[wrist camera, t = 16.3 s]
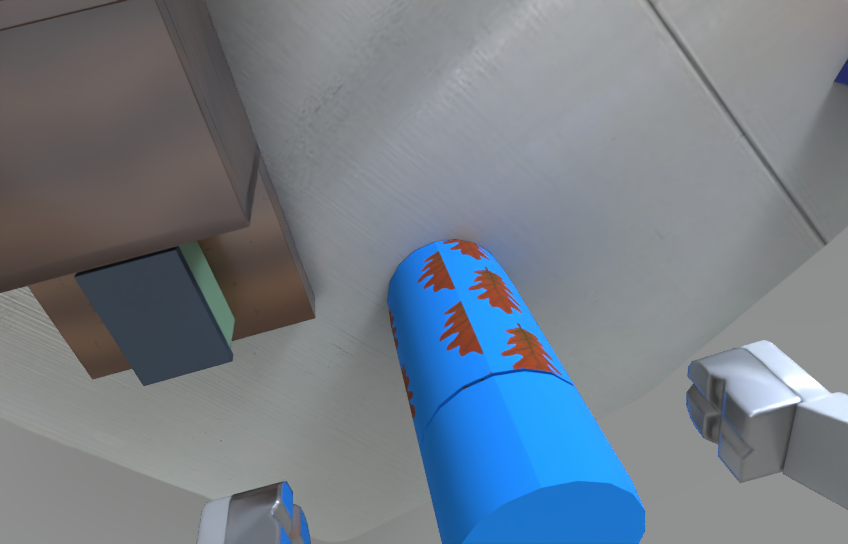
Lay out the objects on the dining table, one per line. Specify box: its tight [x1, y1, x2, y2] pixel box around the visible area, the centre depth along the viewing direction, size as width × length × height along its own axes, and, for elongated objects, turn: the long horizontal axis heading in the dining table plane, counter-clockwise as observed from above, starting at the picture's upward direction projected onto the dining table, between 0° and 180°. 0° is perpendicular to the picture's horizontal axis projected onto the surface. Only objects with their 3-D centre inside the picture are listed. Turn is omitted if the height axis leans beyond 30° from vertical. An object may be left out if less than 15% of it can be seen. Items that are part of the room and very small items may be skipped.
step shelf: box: [0, 0, 315, 379], centre depth 35 cm, size 26×18×16 cm
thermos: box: [388, 239, 645, 544], centre depth 40 cm, size 11×11×25 cm
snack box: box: [74, 241, 235, 386], centre depth 40 cm, size 9×6×5 cm
